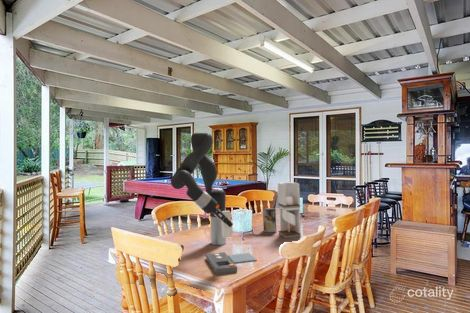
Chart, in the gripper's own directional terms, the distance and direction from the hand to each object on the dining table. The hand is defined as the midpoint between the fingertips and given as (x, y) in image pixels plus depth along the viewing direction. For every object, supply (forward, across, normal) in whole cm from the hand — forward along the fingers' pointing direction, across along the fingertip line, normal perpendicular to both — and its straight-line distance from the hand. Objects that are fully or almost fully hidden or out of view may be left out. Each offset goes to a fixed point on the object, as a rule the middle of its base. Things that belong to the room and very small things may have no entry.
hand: (230, 224), depth 160 cm
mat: (+20, +8, +9) cm, 24 cm away
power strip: (+11, +4, +18) cm, 21 cm away
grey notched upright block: (+53, +44, -22) cm, 72 cm away
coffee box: (+47, +59, -16) cm, 77 cm away
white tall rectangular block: (+3, 0, +5) cm, 6 cm away
